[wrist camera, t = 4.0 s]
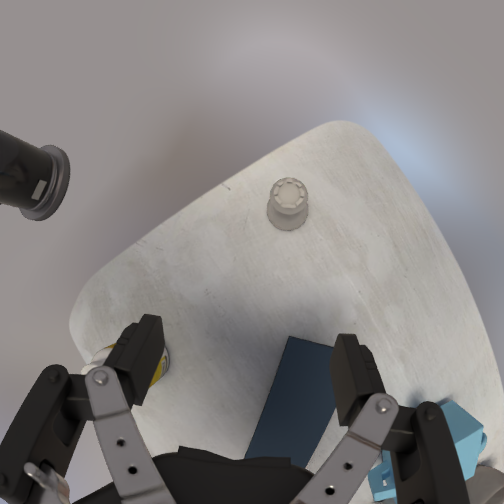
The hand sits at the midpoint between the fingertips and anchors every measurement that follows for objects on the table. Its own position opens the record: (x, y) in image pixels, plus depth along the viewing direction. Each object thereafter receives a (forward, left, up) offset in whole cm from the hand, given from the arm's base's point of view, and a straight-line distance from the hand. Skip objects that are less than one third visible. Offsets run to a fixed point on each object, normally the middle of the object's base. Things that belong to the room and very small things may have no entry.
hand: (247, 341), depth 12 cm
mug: (+47, -24, -19) cm, 57 cm away
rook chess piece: (-1, +10, -19) cm, 21 cm away
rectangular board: (+7, -12, -19) cm, 24 cm away
